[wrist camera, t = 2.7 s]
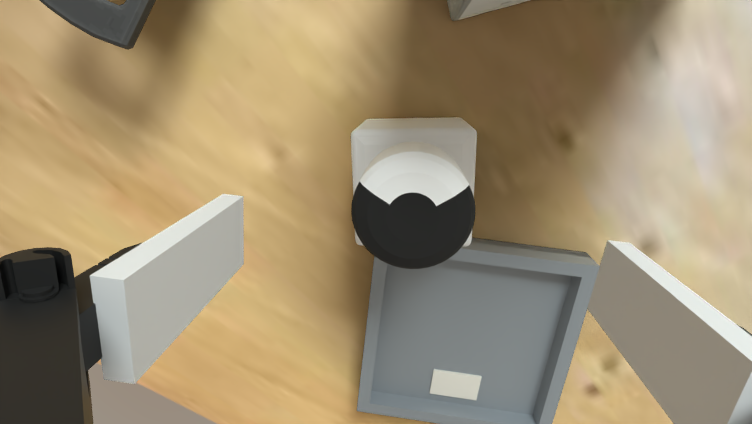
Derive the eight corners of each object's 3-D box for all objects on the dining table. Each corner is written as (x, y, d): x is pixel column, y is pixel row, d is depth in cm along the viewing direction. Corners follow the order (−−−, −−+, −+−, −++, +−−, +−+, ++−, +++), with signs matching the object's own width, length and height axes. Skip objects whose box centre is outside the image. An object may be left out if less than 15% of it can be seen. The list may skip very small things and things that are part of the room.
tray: (360, 389, 38) (356, 411, 35) (379, 225, 33) (376, 237, 30) (538, 416, 37) (546, 440, 34) (586, 252, 32) (599, 266, 29)
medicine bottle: (459, 212, 32) (485, 287, 20) (367, 211, 32) (341, 284, 21) (463, 116, 29) (494, 141, 18) (364, 118, 30) (333, 143, 19)
